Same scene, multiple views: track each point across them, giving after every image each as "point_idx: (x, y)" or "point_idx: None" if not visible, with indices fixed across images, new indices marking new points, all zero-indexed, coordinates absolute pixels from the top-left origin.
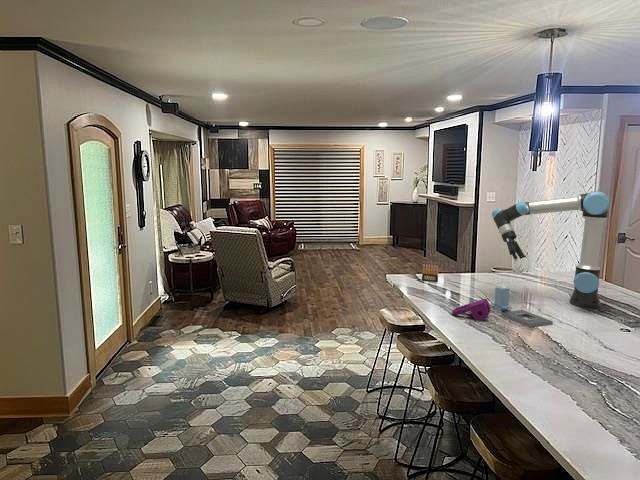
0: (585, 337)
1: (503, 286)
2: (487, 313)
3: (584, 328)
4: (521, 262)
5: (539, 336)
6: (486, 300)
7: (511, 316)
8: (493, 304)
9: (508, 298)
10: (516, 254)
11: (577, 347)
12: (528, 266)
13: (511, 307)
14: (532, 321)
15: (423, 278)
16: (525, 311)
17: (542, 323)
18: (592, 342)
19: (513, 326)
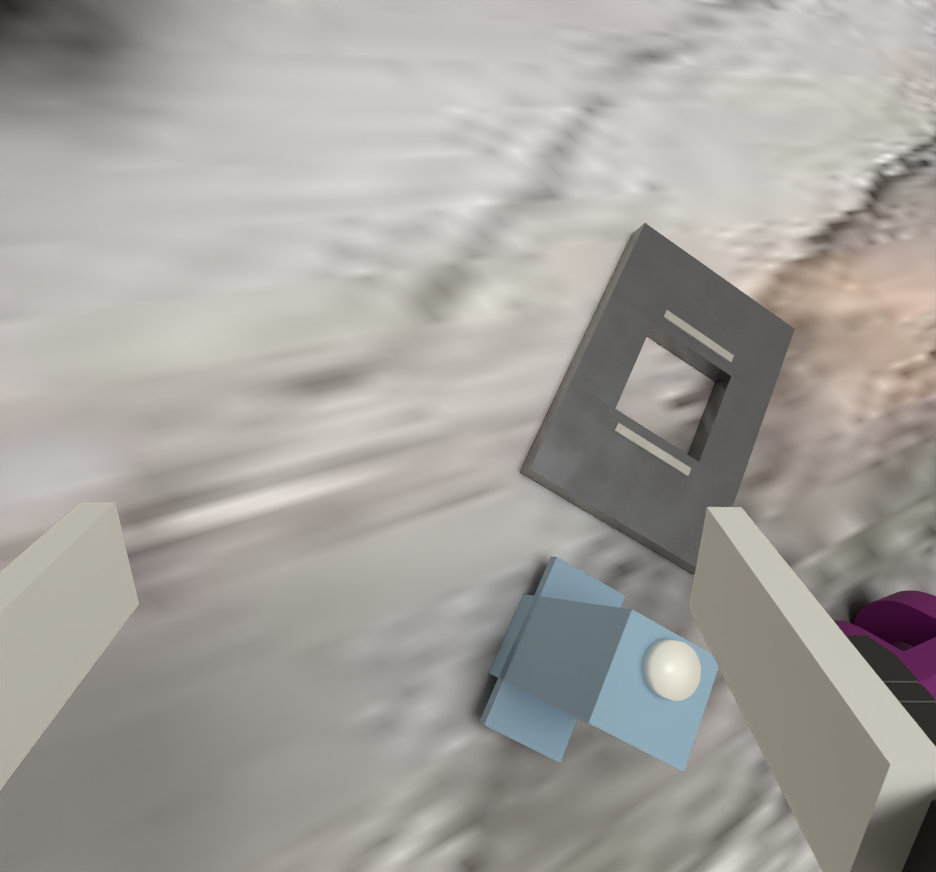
0: (719, 62)
1: (668, 682)
2: (920, 594)
3: (571, 60)
4: (15, 763)
5: (866, 266)
6: (920, 667)
7: (741, 478)
8: (567, 729)
9: (575, 603)
10: (902, 728)
11: (868, 99)
12: (100, 522)
13: (555, 557)
14: (741, 332)
15: None
16: (556, 434)
17: (714, 276)
18: (763, 36)
19: (830, 424)
